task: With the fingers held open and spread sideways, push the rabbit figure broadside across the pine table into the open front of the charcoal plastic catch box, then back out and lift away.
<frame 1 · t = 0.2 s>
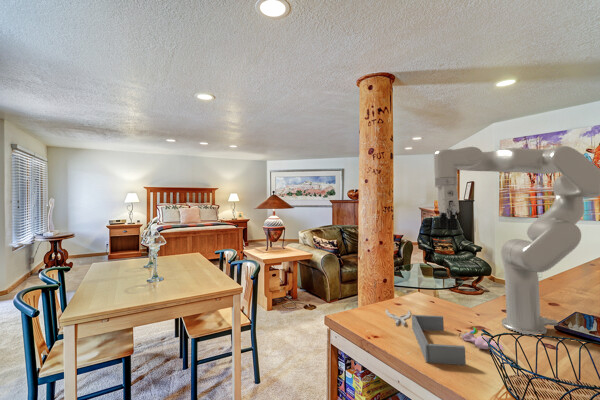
hand: (448, 228, 105), 36 cm above the counter, tool pointing down, fingers open, 9 cm apart
catch box: (436, 344, 91), on the counter
pliers: (398, 319, 113), on the counter
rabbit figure: (480, 348, 89), on the counter
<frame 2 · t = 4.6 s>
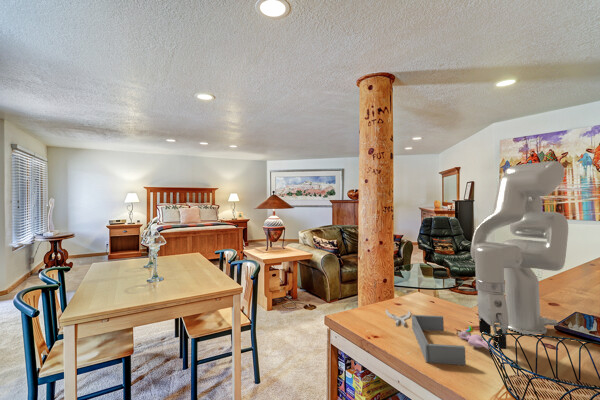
hand: (492, 340, 88), 2 cm above the counter, tool pointing down, fingers open, 9 cm apart
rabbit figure: (474, 346, 90), on the counter
everything else where it was.
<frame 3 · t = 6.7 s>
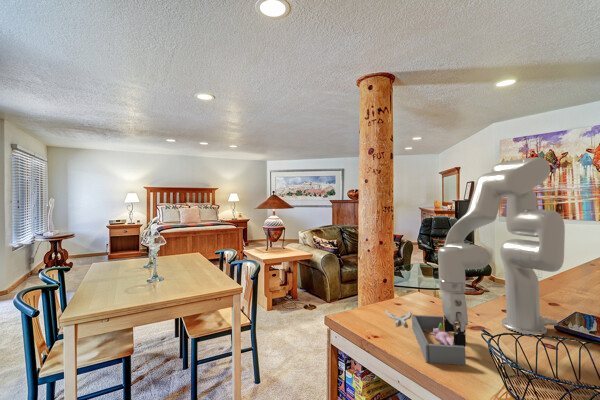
hand: (454, 338, 90), 2 cm above the counter, tool pointing down, fingers open, 9 cm apart
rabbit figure: (442, 343, 92), on the counter, touching gripper
everything else where it was.
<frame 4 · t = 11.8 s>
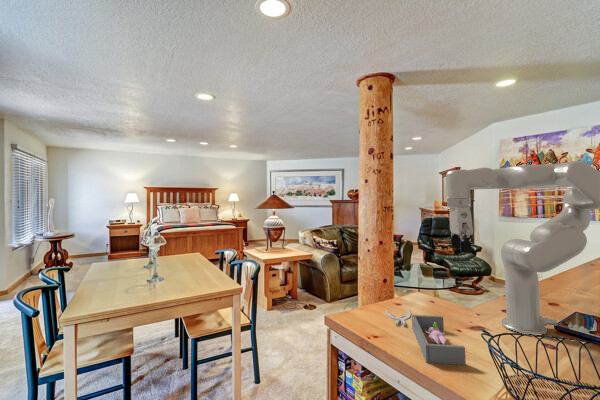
hand: (460, 250, 103), 28 cm above the counter, tool pointing down, fingers open, 9 cm apart
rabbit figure: (436, 342, 94), on the counter
everything else where it was.
at the end: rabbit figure inside the target area on the catch box (2.5 cm from its centre), point 0.0 cm above the catch box's base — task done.
